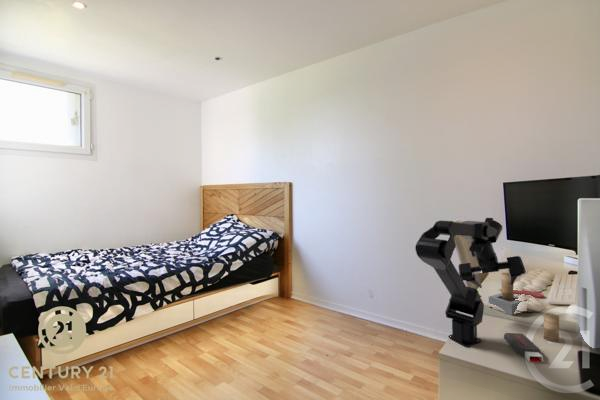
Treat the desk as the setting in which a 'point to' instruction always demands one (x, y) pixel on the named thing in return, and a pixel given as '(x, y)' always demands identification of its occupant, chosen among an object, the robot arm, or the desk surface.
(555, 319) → the short peg
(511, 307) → the grey slotted box
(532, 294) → the red screwdriver
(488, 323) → the desk surface
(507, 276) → the tall peg
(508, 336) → the usb drive
